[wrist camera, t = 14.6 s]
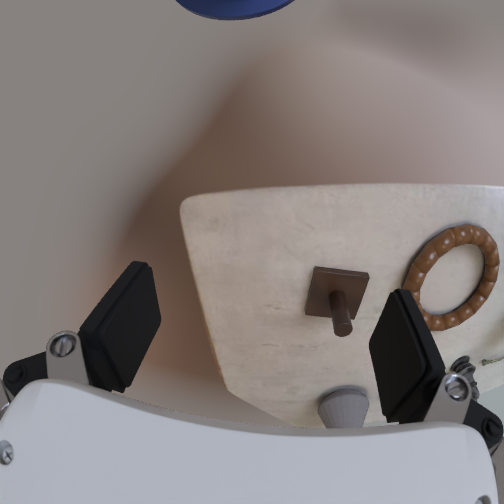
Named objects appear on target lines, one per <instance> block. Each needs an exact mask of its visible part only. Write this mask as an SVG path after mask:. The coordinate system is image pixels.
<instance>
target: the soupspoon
mask: <svg viewBox="0 0 504 504" xmlns="http://www.w3.org/2000/svg"><path fill="white" fill-rule="evenodd" d="M502 359H504V357H502V358H499V359H496V360H491V361H490V360H488V361H487V360H486V361H485V359H484V360H483V362H482V366H485V365H486V364H490V363H493V362H496V361H500V360H502Z"/></svg>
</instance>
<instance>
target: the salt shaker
mask: <svg viewBox="0 0 504 504" xmlns="http://www.w3.org/2000/svg"><path fill="white" fill-rule="evenodd" d="M468 362H469V356H463V357H461V358H459V359H458V360H456V361H455V362H454V363H453V365H452V366H451V370H452V371H455V373H458V374H461V375H462V376H464V377H465V378H466V379H467V380H468V382H469V383H470V385H471V389H472V395H471V399H473V400H474V401H476V402H477V399H478V398H479V395H480V394H479V391H478V389H477V386H476V385H477V382H475V381H474V378H473V373H474V372H475V366H473V365H472V364H471V363H468Z"/></svg>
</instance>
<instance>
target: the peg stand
mask: <svg viewBox="0 0 504 504" xmlns="http://www.w3.org/2000/svg"><path fill="white" fill-rule="evenodd" d="M369 278H370V277H369V274H368V273H364V272H356V271H348V270H340V269H332V268H324V267H315V270H314V274H313V279H312V283H311V287H310V291H309V295H308V300H307V304H306V308H305V315H310V316H320V317H330V318H332V321H333V328H334V333H335V335H337V336H339V337H345V336H347V335H349V334H350V333H351V332H352V329H353V328H352V323H351V319H353V320H354V319H355V316H356V314H357V311H358V309H359V306H360V303H361V301H362V298H363V295H364V292H365V290H366V287H367V284H368V281H369Z"/></svg>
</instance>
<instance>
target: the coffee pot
mask: <svg viewBox="0 0 504 504" xmlns="http://www.w3.org/2000/svg"><path fill="white" fill-rule="evenodd" d="M368 408H369V400H368V398H367V397H366V396H365V395H364V394H362V393H360V392H358V391H356V390H352V389H344V390H339V391H336V392H333V393H332V394H330V395H329V396H328V397H327V398H325V399H324V400H323V401H322V402H321V404H320V406H319V408H318V414H319V416H320V418H321V419H322V421H323V423H324V425H325V426H326V428H359V427H362V426H363V423H364V420H365V417H366V414H367V411H368Z"/></svg>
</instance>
